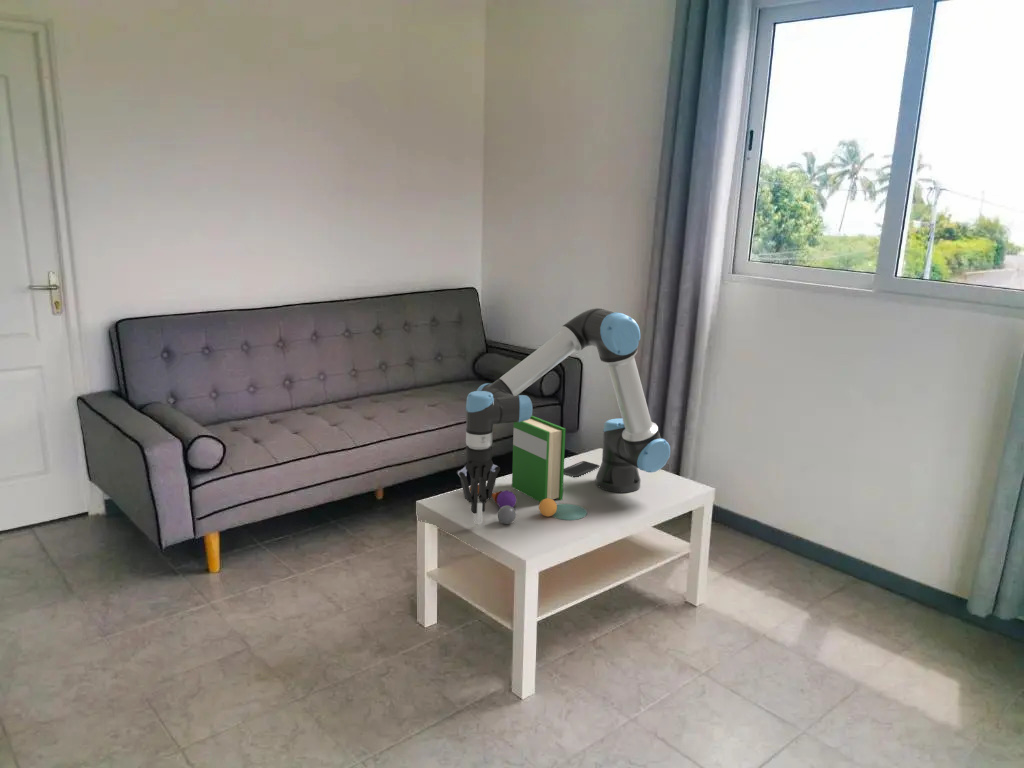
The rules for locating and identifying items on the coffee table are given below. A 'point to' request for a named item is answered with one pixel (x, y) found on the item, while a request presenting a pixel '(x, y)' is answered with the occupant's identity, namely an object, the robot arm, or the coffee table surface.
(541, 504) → the orange ball
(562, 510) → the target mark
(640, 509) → the coffee table surface
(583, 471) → the phone
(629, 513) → the coffee table surface
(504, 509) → the gray ball
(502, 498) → the kendama
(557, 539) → the coffee table surface
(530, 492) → the hardback book
